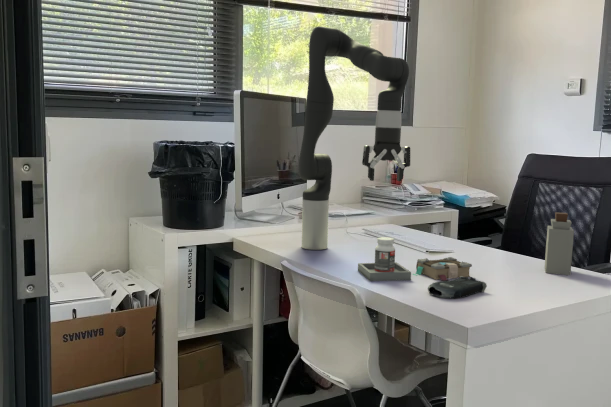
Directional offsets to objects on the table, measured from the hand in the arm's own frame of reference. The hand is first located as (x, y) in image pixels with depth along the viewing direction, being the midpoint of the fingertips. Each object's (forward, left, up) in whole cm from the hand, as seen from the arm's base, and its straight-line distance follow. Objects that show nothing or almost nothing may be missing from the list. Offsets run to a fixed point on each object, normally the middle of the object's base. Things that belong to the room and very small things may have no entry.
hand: (385, 180), depth 172 cm
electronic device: (+29, +10, -27) cm, 41 cm away
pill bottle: (+10, -2, -26) cm, 28 cm away
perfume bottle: (+11, +52, -27) cm, 60 cm away
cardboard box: (+11, +14, -27) cm, 33 cm away
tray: (+10, -3, -27) cm, 28 cm away
